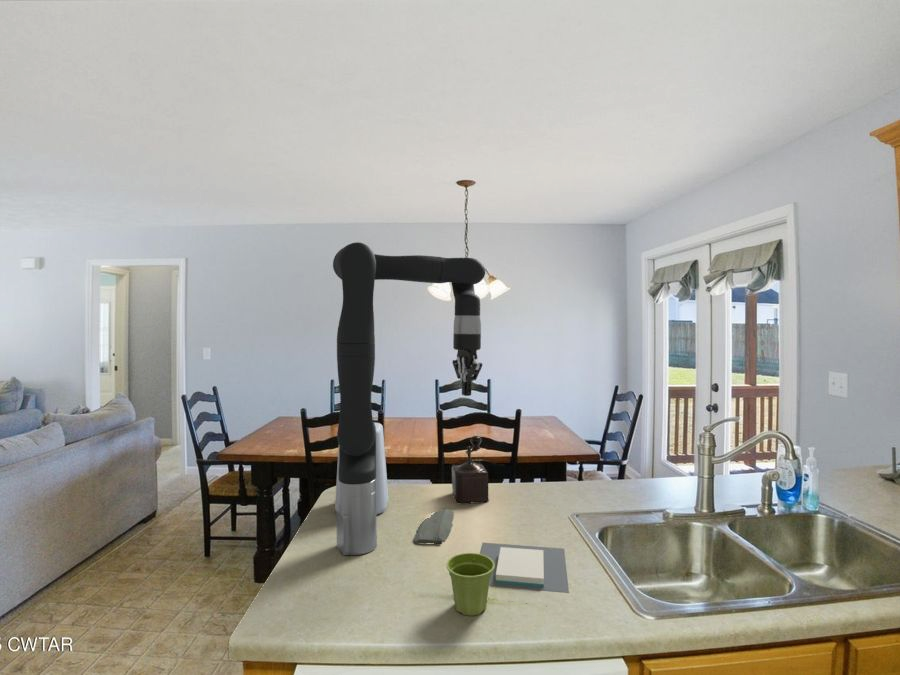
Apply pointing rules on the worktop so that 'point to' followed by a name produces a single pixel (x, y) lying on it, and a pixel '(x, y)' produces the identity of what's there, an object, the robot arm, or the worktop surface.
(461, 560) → the plant pot
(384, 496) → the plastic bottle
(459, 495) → the brown coffee grinder
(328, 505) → the worktop surface
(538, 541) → the worktop surface
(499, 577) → the glazed tile
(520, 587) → the rubber mat
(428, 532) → the stone slab
